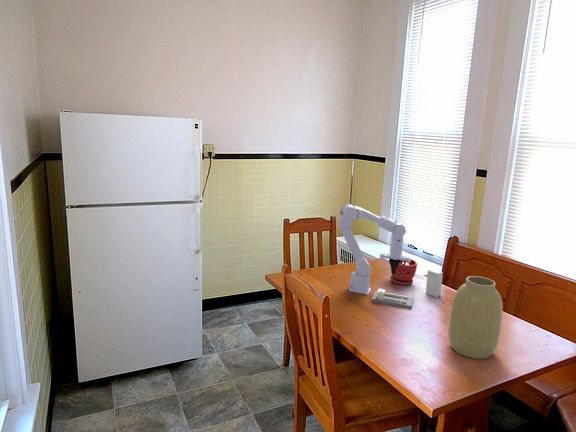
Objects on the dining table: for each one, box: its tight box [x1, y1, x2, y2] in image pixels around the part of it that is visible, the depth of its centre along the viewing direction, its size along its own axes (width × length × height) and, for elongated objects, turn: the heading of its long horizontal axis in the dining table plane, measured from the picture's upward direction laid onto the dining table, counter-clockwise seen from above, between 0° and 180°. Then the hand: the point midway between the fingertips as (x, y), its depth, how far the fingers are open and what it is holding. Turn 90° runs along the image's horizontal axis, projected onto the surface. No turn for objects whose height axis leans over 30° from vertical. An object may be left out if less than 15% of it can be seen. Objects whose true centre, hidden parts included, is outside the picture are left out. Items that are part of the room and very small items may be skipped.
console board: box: [370, 290, 414, 310], centre depth 192 cm, size 18×10×2 cm, turn 68°
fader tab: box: [377, 288, 386, 297], centre depth 193 cm, size 3×4×3 cm
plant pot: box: [390, 258, 418, 286], centre depth 216 cm, size 13×13×12 cm
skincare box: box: [425, 268, 444, 298], centre depth 201 cm, size 6×4×12 cm
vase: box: [447, 275, 503, 360], centre depth 149 cm, size 17×17×27 cm
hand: (393, 273), depth 202 cm, fingers closed
